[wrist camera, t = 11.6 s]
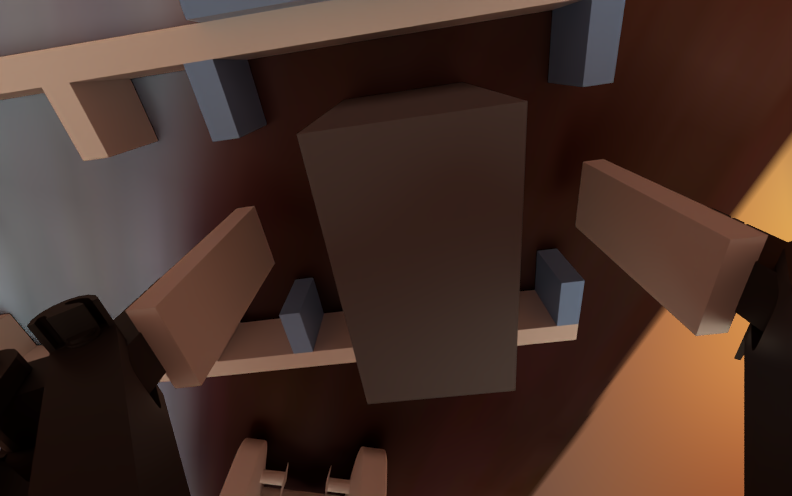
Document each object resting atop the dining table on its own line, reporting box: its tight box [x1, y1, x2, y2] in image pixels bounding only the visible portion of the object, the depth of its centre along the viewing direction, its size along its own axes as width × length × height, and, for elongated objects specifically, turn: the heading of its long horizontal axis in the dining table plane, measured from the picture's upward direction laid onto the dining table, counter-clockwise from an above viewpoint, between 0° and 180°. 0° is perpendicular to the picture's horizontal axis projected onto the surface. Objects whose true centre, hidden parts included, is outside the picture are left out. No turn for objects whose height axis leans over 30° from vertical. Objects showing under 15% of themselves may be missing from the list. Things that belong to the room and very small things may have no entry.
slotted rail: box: [0, 0, 625, 382], centre depth 15 cm, size 32×16×4 cm, turn 98°
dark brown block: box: [297, 82, 528, 404], centre depth 13 cm, size 5×9×8 cm, turn 8°
